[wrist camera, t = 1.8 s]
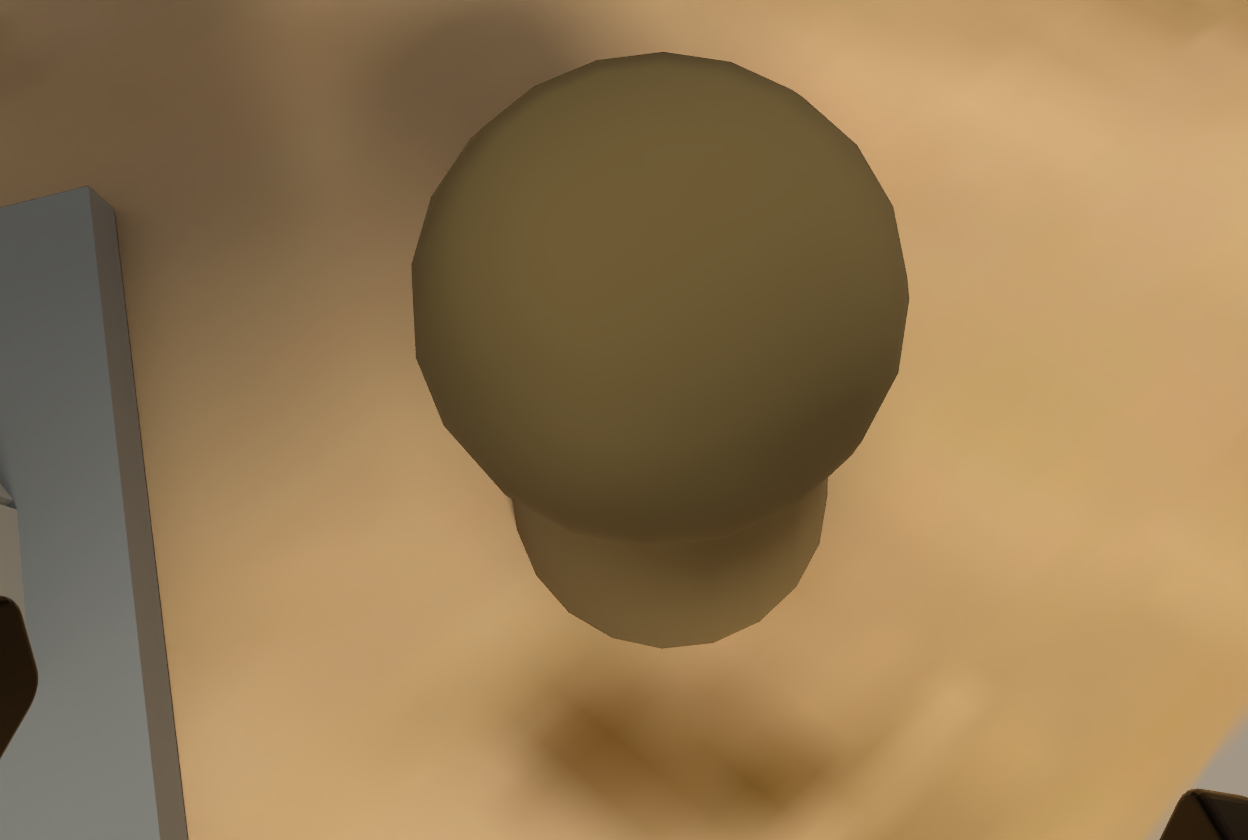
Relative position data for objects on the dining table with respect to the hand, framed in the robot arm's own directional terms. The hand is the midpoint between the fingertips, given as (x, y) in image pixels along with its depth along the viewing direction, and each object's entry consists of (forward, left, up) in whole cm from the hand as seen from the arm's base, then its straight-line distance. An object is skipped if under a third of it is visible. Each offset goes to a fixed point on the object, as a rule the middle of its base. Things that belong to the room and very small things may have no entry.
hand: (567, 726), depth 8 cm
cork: (+4, -2, -11) cm, 12 cm away
